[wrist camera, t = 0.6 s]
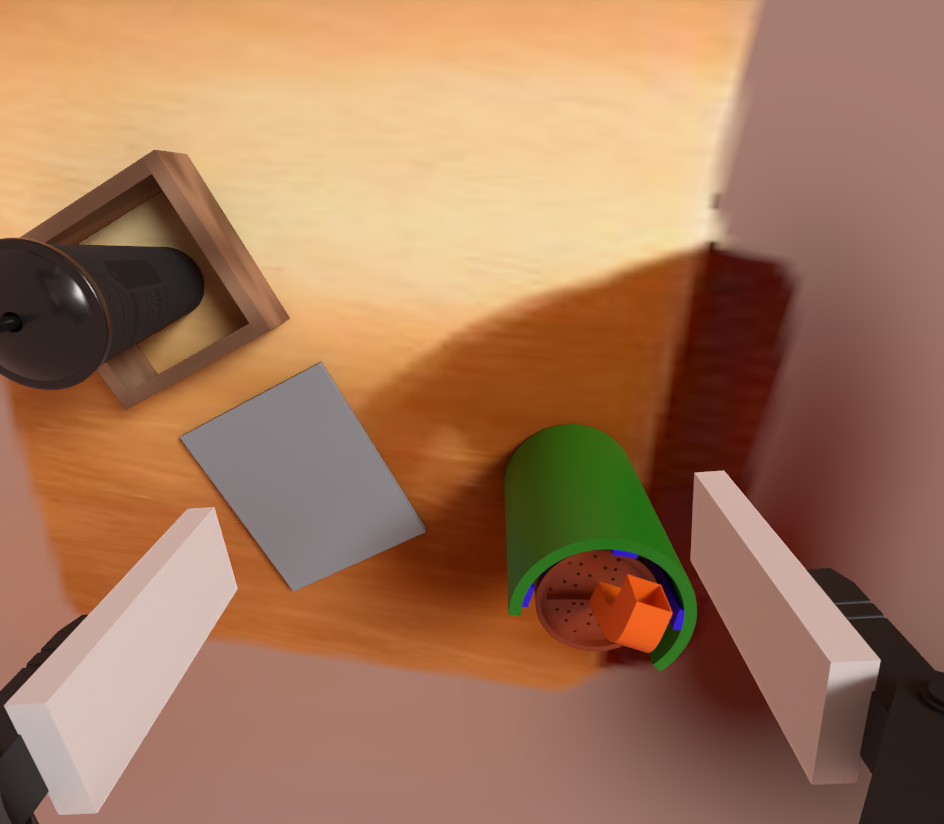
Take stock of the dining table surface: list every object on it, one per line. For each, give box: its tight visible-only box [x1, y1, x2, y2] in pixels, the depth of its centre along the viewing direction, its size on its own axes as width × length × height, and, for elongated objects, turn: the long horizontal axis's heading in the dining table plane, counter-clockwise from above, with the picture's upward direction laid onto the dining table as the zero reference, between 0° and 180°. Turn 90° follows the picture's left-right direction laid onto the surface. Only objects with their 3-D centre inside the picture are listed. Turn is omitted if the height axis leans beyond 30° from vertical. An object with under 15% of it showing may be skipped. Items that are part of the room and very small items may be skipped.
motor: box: [504, 424, 697, 671], centre depth 37 cm, size 10×9×20 cm
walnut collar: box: [20, 150, 290, 409], centre depth 40 cm, size 12×12×4 cm
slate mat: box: [180, 361, 426, 591], centre depth 47 cm, size 16×13×1 cm
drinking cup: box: [0, 238, 204, 390], centre depth 33 cm, size 8×8×20 cm
